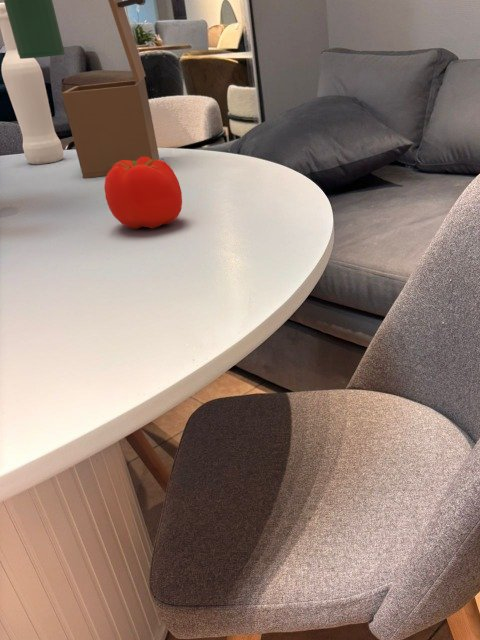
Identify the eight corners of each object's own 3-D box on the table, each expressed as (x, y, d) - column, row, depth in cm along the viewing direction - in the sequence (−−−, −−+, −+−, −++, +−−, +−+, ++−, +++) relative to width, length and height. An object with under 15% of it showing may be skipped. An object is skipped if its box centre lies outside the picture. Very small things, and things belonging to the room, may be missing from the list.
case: (83, 178, 122) (61, 93, 114) (94, 164, 133) (75, 86, 125) (154, 170, 122) (138, 85, 115) (159, 157, 134) (144, 79, 126)
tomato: (168, 237, 83) (154, 168, 79) (96, 236, 86) (79, 169, 82) (201, 214, 92) (191, 150, 87) (135, 214, 95) (121, 152, 90)
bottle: (64, 155, 146) (24, 1, 131) (65, 161, 139) (23, 0, 124) (28, 160, 144) (-17, 5, 129) (26, 166, 138) (-21, 3, 122)
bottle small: (14, 59, 92) (-16, -52, 85) (26, 57, 97) (-2, -48, 91) (59, 55, 92) (32, -56, 86) (68, 53, 98) (43, -52, 91)
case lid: (104, -11, 107) (135, -19, 107) (114, -8, 119) (142, -15, 118) (135, 82, 114) (164, 75, 114) (142, 77, 126) (168, 70, 126)
